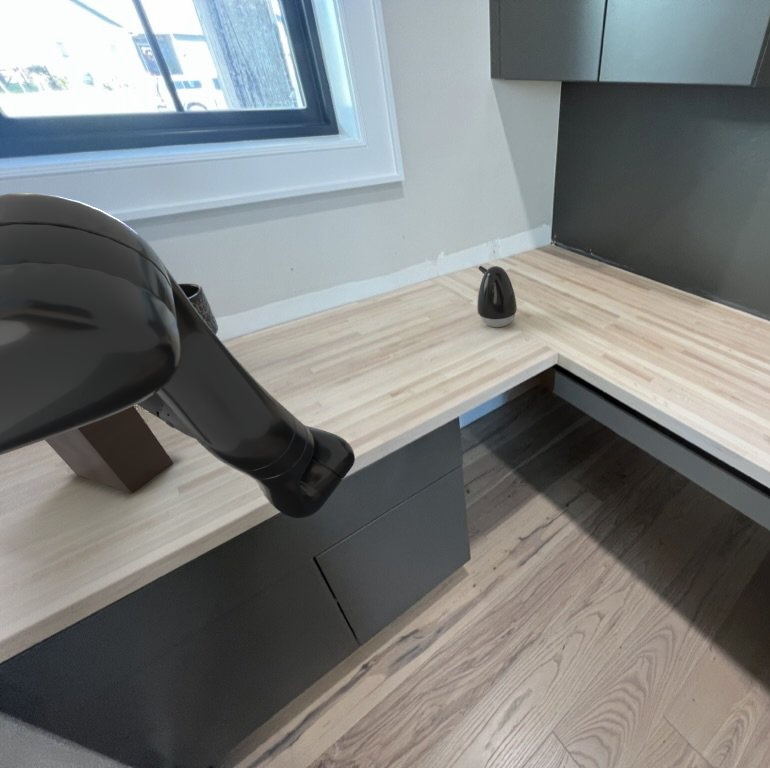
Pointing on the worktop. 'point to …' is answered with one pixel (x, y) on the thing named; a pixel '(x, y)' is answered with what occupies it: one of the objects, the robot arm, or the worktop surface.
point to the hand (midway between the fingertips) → (73, 322)
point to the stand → (113, 451)
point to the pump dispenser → (496, 297)
